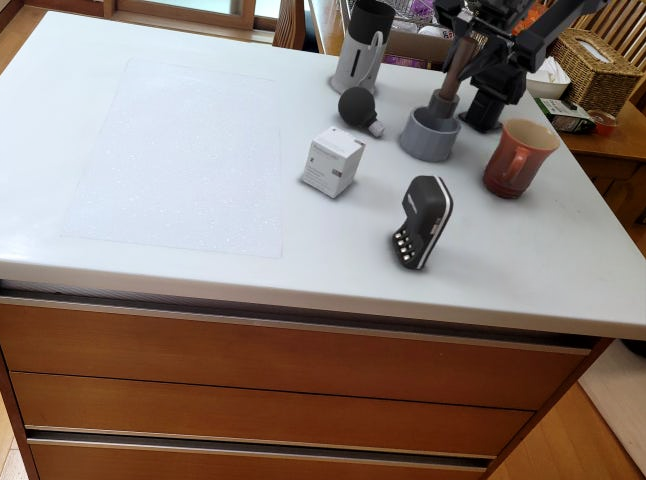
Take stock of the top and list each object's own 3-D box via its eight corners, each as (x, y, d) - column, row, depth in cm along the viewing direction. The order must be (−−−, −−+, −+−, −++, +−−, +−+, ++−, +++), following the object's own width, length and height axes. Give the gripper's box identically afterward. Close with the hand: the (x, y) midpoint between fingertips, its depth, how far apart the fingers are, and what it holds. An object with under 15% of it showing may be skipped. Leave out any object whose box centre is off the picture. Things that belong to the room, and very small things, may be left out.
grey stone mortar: (423, 129, 100) (434, 102, 96) (457, 155, 96) (471, 127, 92) (390, 139, 96) (400, 110, 92) (424, 166, 91) (437, 138, 87)
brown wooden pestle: (449, 106, 92) (479, 35, 83) (455, 120, 89) (488, 48, 80) (424, 103, 91) (452, 31, 83) (429, 117, 88) (459, 44, 80)
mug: (482, 164, 95) (510, 111, 87) (531, 185, 93) (563, 133, 85) (464, 198, 87) (493, 142, 79) (517, 222, 85) (552, 167, 77)
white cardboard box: (300, 181, 83) (310, 139, 77) (321, 165, 87) (332, 123, 81) (334, 199, 81) (347, 158, 76) (353, 182, 85) (367, 141, 79)
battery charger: (384, 234, 77) (411, 167, 69) (409, 235, 78) (439, 169, 70) (397, 270, 73) (428, 203, 64) (423, 271, 73) (458, 205, 65)
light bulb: (388, 125, 90) (348, 80, 91) (362, 151, 94) (324, 108, 95) (401, 118, 95) (363, 76, 96) (376, 144, 99) (340, 103, 100)
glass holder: (370, 78, 110) (394, 1, 100) (382, 116, 101) (410, 34, 90) (328, 72, 109) (348, -7, 98) (336, 109, 99) (359, 26, 89)
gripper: (464, -69, 80) (393, 19, 82) (580, -21, 72) (499, 76, 74) (470, -18, 90) (407, 60, 92) (573, 30, 82) (501, 114, 84)
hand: (450, 76), depth 85 cm, fingers closed on brown wooden pestle, 2 cm apart
